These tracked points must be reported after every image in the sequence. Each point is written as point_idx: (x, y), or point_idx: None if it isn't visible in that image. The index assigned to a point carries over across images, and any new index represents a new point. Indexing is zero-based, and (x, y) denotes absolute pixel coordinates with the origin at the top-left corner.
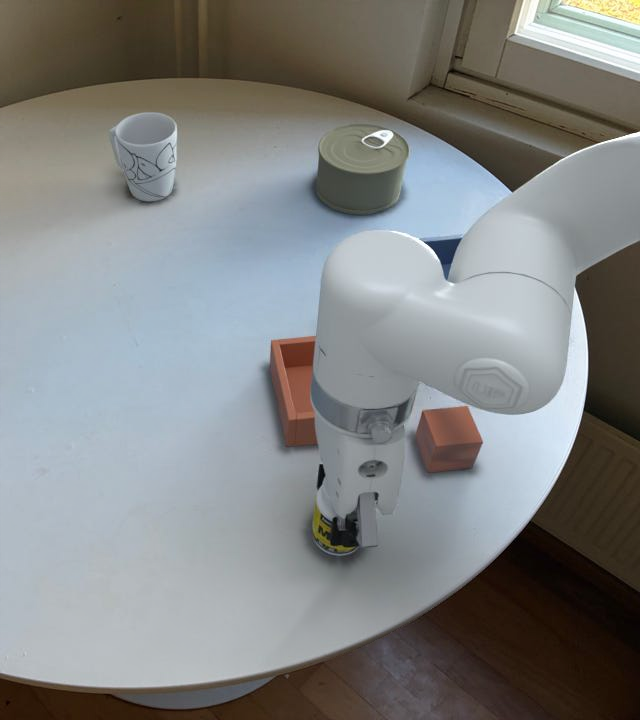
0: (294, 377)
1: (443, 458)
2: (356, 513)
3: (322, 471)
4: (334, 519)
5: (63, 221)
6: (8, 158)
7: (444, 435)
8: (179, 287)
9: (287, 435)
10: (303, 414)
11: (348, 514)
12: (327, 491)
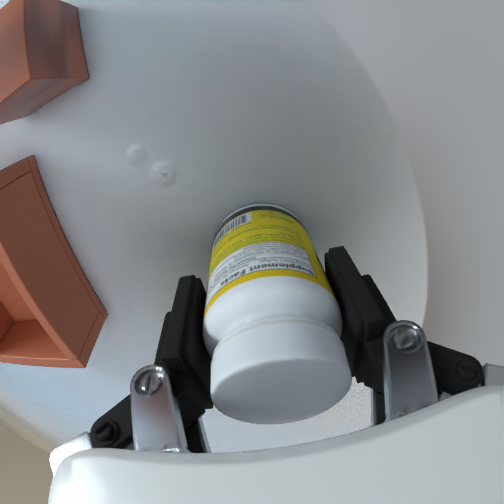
0: (12, 305)
1: (59, 55)
2: (380, 372)
3: None
4: (362, 380)
5: (19, 416)
6: (9, 424)
7: (6, 69)
8: (5, 376)
9: (98, 334)
10: (63, 350)
11: (377, 383)
12: (299, 417)
